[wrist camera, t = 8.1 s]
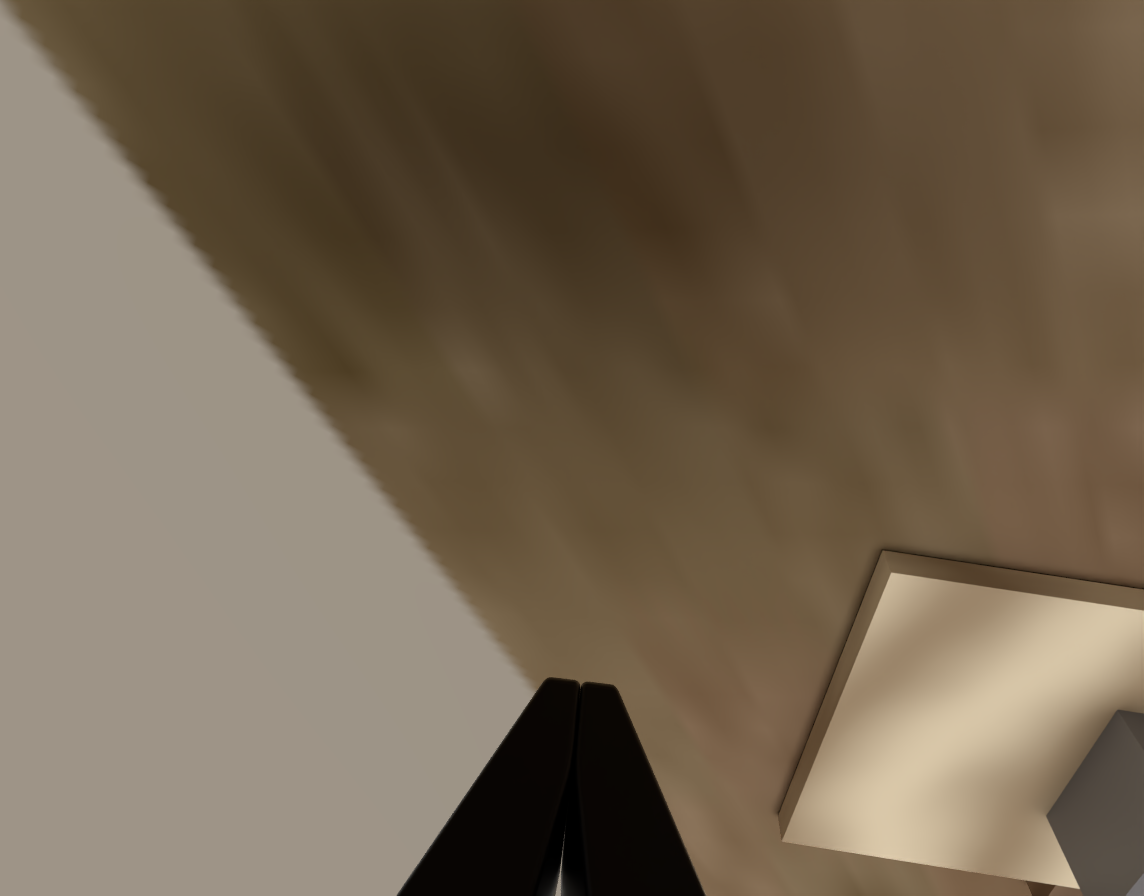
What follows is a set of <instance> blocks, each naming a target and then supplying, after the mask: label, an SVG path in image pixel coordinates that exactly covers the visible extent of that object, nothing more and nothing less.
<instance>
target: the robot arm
mask: <svg viewBox="0 0 1144 896" xmlns="http://www.w3.org/2000/svg"><path fill="white" fill-rule="evenodd" d="M564 834H565V836H564ZM563 842H564V845H563ZM562 851H563V856H562ZM561 858H562V871H561V896H706V894H705V892H704V889H703V887H702V885H701V882H700V880H699V878H698V875H697V873H696V871H695V868H694V866H693V864H692V861H691V859H690V857H689V854H688V852H687V850H686V847H685V845H684V843H683V840H682V838H681V836H680V833H679V831H678V829H677V826H676V824H675V822H674V819H673V817H672V815H671V812H670V810H669V808H668V805H667V803H666V801H665V798H664V796H663V794H662V791H661V789H660V787H659V784H658V782H657V780H656V777H655V775H654V773H653V770H652V768H651V766H650V763H649V761H648V759H647V756H646V754H645V752H644V749H643V747H642V745H641V742H640V740H639V738H638V735H637V733H636V731H635V728H634V726H633V724H632V721H631V719H630V717H629V714H628V712H627V710H626V707H625V705H624V703H623V700H622V698H621V696H620V693H619V691H618V689H617V688H616V687H615V686H614V685H611V684H603V683H595V682H584V683H583V684H582V685H581V689H580V684H579V682H578V681H576V680H570V679H562V678H553V677H549V678H547V679H546V680H545V681H544V682H543V683H542V684H541V686H540V687H539V689H538V690H537V691H536V693H535V694H534V696H533V697H532V699H531V700H530V702H529V703H528V705H527V706H526V707H525V709H524V710H523V712H522V713H521V715H520V717H519V718H518V719H517V721H516V722H515V724H514V725H513V726H512V728H511V729H510V731H509V732H508V734H507V735H506V737H505V738H504V740H503V741H502V743H501V744H500V745H499V747H498V748H497V750H496V751H495V753H494V754H493V756H492V757H491V759H490V760H489V762H488V763H487V764H486V766H485V767H484V769H483V770H482V772H481V773H480V775H479V776H478V778H477V779H476V780H475V782H474V783H473V785H472V786H471V788H470V789H469V791H468V792H467V794H466V795H465V796H464V798H463V799H462V801H461V802H460V804H459V805H458V807H457V808H456V810H455V811H454V813H453V814H452V815H451V817H450V818H449V820H448V821H447V823H446V824H445V826H444V827H443V829H442V830H441V831H440V833H439V835H438V836H437V837H436V839H435V840H434V842H433V843H432V845H431V846H430V848H429V849H428V850H427V852H426V853H425V855H424V856H423V858H422V859H421V861H420V862H419V864H418V865H417V866H416V868H415V870H414V871H413V872H412V874H411V875H410V877H409V878H408V880H407V881H406V883H405V884H404V886H403V887H402V888H401V890H400V891H399V893H398V894H397V896H555V894H556V888H557V884H558V878H559V873H560V866H561Z"/></svg>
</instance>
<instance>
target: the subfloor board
mask: <svg viewBox="0 0 1144 896" xmlns="http://www.w3.org/2000/svg"><path fill="white" fill-rule="evenodd" d="M1117 709H1118V710H1124V711H1131V712H1137V713H1143V714H1144V590H1143V589H1136V588H1130V587H1123V586H1116V585H1110V584H1103V583H1096V582H1090V581H1083V580H1077V579H1070V578H1063V577H1057V576H1050V575H1043V574H1037V573H1030V572H1023V571H1017V570H1010V569H1004V568H997V567H990V566H984V565H977V564H970V563H964V562H957V561H951V560H944V559H937V558H931V557H924V556H917V555H911V554H904V553H897V552H891V551H884V550H882V553H881V555H880V558H879V561H878V563H877V566H876V568H875V571H874V573H873V576H872V578H871V581H870V583H869V586H868V588H867V591H866V594H865V596H864V599H863V601H862V604H861V606H860V609H859V611H858V614H857V616H856V619H855V622H854V624H853V627H852V629H851V632H850V634H849V637H848V639H847V642H846V644H845V647H844V649H843V652H842V655H841V657H840V660H839V662H838V665H837V667H836V670H835V672H834V675H833V677H832V680H831V683H830V685H829V688H828V690H827V693H826V695H825V698H824V700H823V703H822V705H821V708H820V711H819V713H818V716H817V718H816V721H815V723H814V726H813V728H812V731H811V733H810V736H809V738H808V741H807V744H806V746H805V749H804V751H803V754H802V756H801V759H800V761H799V764H798V766H797V769H796V772H795V774H794V777H793V779H792V782H791V784H790V787H789V789H788V792H787V794H786V797H785V800H784V802H783V805H782V807H781V810H780V812H779V815H778V819H779V826H780V833H781V840H782V842H788V843H794V844H800V845H806V846H813V847H819V848H825V849H832V850H838V851H844V852H850V853H857V854H863V855H869V856H876V857H882V858H888V859H894V860H901V861H907V862H913V863H920V864H926V865H932V866H939V867H945V868H951V869H957V870H964V871H970V872H976V873H983V874H989V875H995V876H1001V877H1008V878H1014V879H1020V880H1027V881H1028V882H1027V884H1028V886H1029V889H1030V891H1031V894H1032V896H1083V894H1082V892H1081V890H1080V888H1079V886H1078V884H1077V881H1076V879H1075V877H1074V875H1073V873H1072V871H1071V869H1070V866H1069V864H1068V862H1067V860H1066V858H1065V856H1064V854H1063V851H1062V849H1061V847H1060V845H1059V843H1058V841H1057V839H1056V837H1055V834H1054V832H1053V830H1052V828H1051V826H1050V824H1049V822H1048V819H1047V817H1046V815H1047V814H1048V812H1049V811H1050V810H1051V808H1052V807H1053V805H1054V804H1055V802H1056V801H1057V799H1058V798H1059V796H1060V795H1061V793H1062V792H1063V790H1064V789H1065V787H1066V786H1067V784H1068V783H1069V781H1070V780H1071V778H1072V777H1073V775H1074V774H1075V772H1076V771H1077V769H1078V768H1079V766H1080V765H1081V763H1082V762H1083V760H1084V759H1085V757H1086V756H1087V754H1088V753H1089V751H1090V750H1091V748H1092V747H1093V745H1094V744H1095V742H1096V741H1097V739H1098V738H1099V736H1100V735H1101V733H1102V732H1103V730H1104V729H1105V727H1106V726H1107V724H1108V723H1109V721H1110V720H1111V718H1112V717H1113V715H1114V714H1115V712H1116V711H1117Z"/></svg>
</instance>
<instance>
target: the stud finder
mask: <svg viewBox="0 0 1144 896" xmlns="http://www.w3.org/2000/svg"><path fill="white" fill-rule="evenodd" d="M1046 817H1047V819H1048V822H1049V824H1050V826H1051V828H1052V830H1053V832H1054V834H1055V837H1056V839H1057V841H1058V843H1059V845H1060V847H1061V849H1062V851H1063V854H1064V856H1065V858H1066V860H1067V862H1068V864H1069V866H1070V869H1071V871H1072V873H1073V875H1074V877H1075V879H1076V881H1077V884H1078V886H1079V888H1080V890H1081V892H1082V894H1083V896H1144V714H1143V713H1137V712H1131V711H1124V710H1118V709H1117V711H1116V712H1115V714H1114V715H1113V717H1112V718H1111V720H1110V721H1109V723H1108V724H1107V726H1106V727H1105V729H1104V730H1103V732H1102V733H1101V735H1100V736H1099V738H1098V739H1097V741H1096V742H1095V744H1094V745H1093V747H1092V748H1091V750H1090V751H1089V753H1088V754H1087V756H1086V757H1085V759H1084V760H1083V762H1082V763H1081V765H1080V766H1079V768H1078V769H1077V771H1076V772H1075V774H1074V775H1073V777H1072V778H1071V780H1070V781H1069V783H1068V784H1067V786H1066V787H1065V789H1064V790H1063V792H1062V793H1061V795H1060V796H1059V798H1058V799H1057V801H1056V802H1055V804H1054V805H1053V807H1052V808H1051V810H1050V811H1049V812H1048V814H1047V815H1046Z"/></svg>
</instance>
